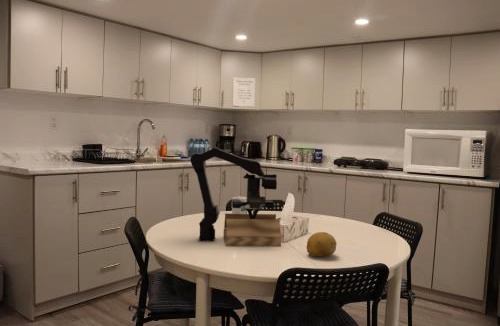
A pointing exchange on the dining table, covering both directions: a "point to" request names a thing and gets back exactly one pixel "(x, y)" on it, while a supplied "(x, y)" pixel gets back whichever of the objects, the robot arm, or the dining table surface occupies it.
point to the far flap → (247, 216)
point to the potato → (321, 244)
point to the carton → (251, 241)
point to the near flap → (253, 228)
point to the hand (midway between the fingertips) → (252, 223)
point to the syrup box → (241, 209)
